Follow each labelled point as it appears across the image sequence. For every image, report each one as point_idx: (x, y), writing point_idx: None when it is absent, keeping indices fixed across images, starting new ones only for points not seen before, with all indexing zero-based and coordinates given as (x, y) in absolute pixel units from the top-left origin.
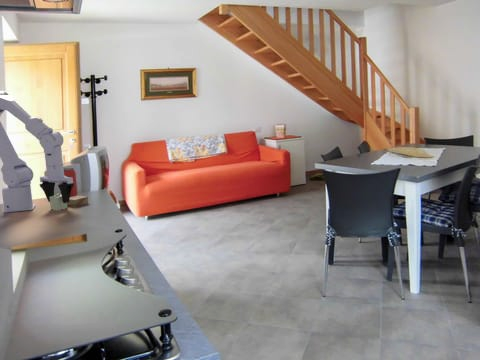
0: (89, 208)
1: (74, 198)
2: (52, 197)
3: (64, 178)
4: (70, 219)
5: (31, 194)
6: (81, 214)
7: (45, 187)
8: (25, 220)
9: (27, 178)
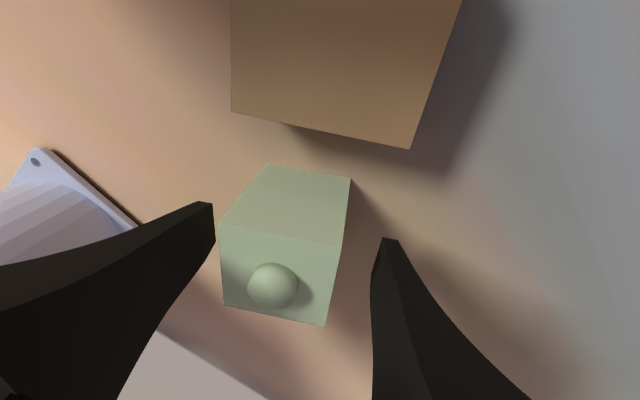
0: (574, 167)
1: (347, 76)
2: (262, 308)
3: None
4: (532, 382)
5: (3, 264)
6: (564, 315)
7: (116, 385)
8: (311, 379)
9: None
